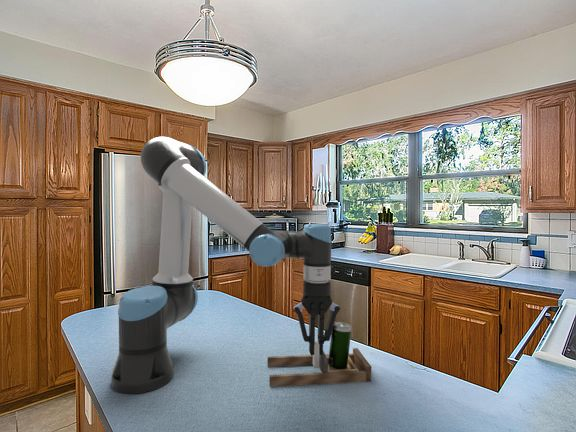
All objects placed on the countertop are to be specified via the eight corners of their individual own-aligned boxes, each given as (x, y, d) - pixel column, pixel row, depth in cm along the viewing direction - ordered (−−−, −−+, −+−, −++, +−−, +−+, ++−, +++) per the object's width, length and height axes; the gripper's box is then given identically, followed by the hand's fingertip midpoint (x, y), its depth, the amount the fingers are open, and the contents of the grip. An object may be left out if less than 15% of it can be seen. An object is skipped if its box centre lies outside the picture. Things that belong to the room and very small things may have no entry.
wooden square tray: (324, 379, 90) (325, 360, 90) (318, 364, 99) (318, 346, 99) (358, 378, 91) (358, 358, 91) (348, 363, 100) (348, 345, 100)
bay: (269, 386, 87) (269, 370, 87) (267, 365, 99) (267, 351, 99) (371, 381, 90) (371, 366, 90) (357, 361, 102) (357, 348, 102)
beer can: (336, 373, 91) (341, 329, 91) (323, 365, 96) (328, 322, 96) (351, 370, 94) (355, 327, 94) (338, 362, 99) (342, 320, 99)
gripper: (295, 283, 90) (294, 373, 90) (343, 283, 91) (342, 371, 91) (292, 278, 97) (291, 360, 97) (336, 277, 98) (335, 359, 99)
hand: (315, 365), depth 94 cm, fingers closed
